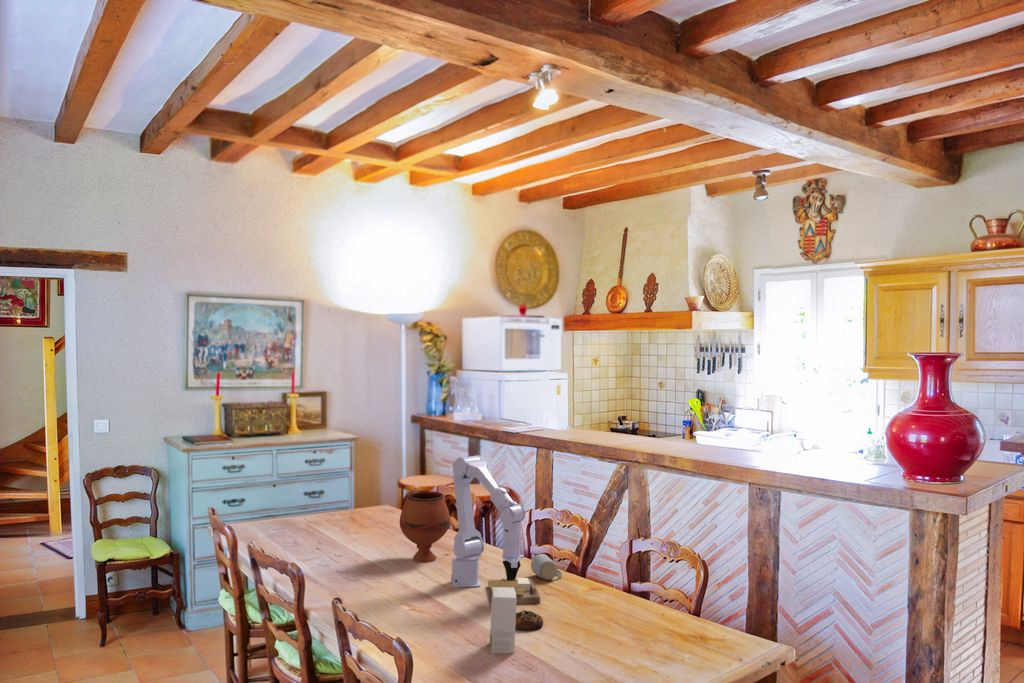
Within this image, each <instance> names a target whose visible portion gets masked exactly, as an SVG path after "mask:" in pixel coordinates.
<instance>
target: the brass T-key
mask: <svg viewBox="0 0 1024 683" xmlns="http://www.w3.org/2000/svg"><path fill="white" fill-rule="evenodd" d="M487 587H488V588H489V587H518V579H507V578H506V579H505V578H501V579H488V580H487ZM514 590H515V592H516V595H524V589H514Z"/></svg>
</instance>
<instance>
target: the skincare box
mask: <svg viewBox="0 0 1024 683" xmlns="http://www.w3.org/2000/svg"><path fill="white" fill-rule="evenodd" d="M516 613H517V598H516V592H515V590H514V587H492V596H491V610H490V628H489V630H490V631H489V632H490V633H489V634H490V635H489V646H490V649H491V650H490V651H491V652H490V653H491V654H494V655H495V654H496V655H497V654H498V655H501V654H515V645H516V644H515V642H516V629H515V624H516Z"/></svg>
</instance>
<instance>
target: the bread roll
mask: <svg viewBox="0 0 1024 683" xmlns="http://www.w3.org/2000/svg"><path fill="white" fill-rule="evenodd" d="M543 625H544V619H543V617H542V616H541V615H540V614H538V613H536V612H534V611H532V610H524V609H523V610H519V612H517V611H516V624H515V630H519V631H522V632H531V631H538V630H541V629H542V627H543Z"/></svg>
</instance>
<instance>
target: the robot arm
mask: <svg viewBox="0 0 1024 683" xmlns="http://www.w3.org/2000/svg"><path fill="white" fill-rule="evenodd" d="M451 464H452V465H451V466H452V473H453V485H454V495H455V503H456V504H455V505H456V512H457V519H458V520H457V521H458V529H459V531H458V532H457V533H456V535H455V536H454V538H453V541H454V543H453V548H452V549H453V553H454V556H455V557H454V558H452V562H451V574H450V580H451V585H452V586H451V587H453V588H469V587H470V588H476V587H477V588H480V587H481V583H480V578H479V574H480V573H479V571H480V570H479V568H480V558H481V555H482V554H483V553H484V550H485V544H484V543H485V542H484V541H483V538H482V534H481V532H480V531H479V530H478V529H476V526H475V519H474V518H475V517H474V510H473V508H474V507H473V502H472V492H471V485H470V484H471V483H472V481H473V479H477V480H478V481H479V483H480V484H482V486H483V487H484V488H485V489H486V490H487V492H488V493H489V499H490V501H491V503H493V505H494V506H495V507H496V509H497V511H498V512H499V513H500V514H499V519H500V521H501V524H502V529H503V536H502V538H503V541H502V542H503V543H502V544H503V545H502V556H501V559H503V560H502V564H503V566H504V569H505V570H504V571H505V574H506V579H516V578H517V575H518V571H519V569H520V567H521V561H520V560H521V559H524V558H525V555H524V554H521V542H522V522H523V521H524V520H525V517H526V510H525V509H524V507H523V505H522V504H520V503H517V501H514V500H513V498H512V497H511V496H510V495H509V493H508V490H507V489H505V488H504V487H499V486H498V484H497V483H496V480H494V478H493V476H492V475H491V474H490V471H488V468H487V462H486V461H485V460H484V458H483V457H482V456H481V455H479V454H476V455H473V456H472V455H471V456H464V457H457V458H456V459H455V460H454V461H453V463H451Z"/></svg>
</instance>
